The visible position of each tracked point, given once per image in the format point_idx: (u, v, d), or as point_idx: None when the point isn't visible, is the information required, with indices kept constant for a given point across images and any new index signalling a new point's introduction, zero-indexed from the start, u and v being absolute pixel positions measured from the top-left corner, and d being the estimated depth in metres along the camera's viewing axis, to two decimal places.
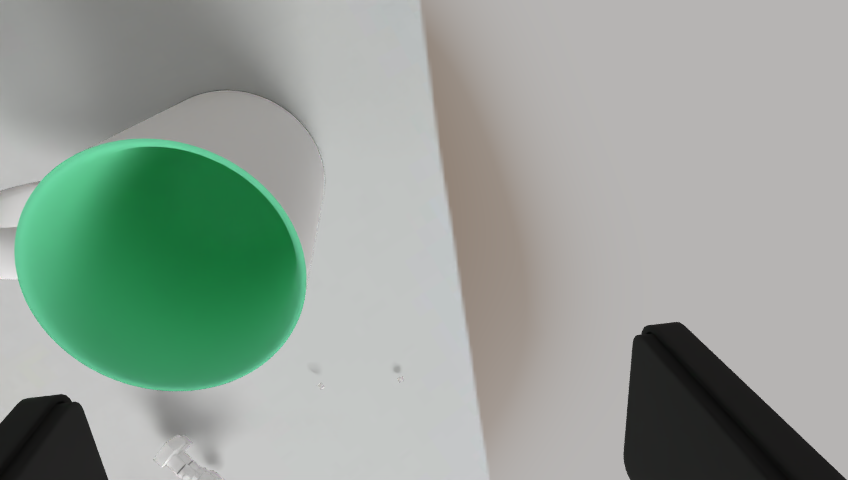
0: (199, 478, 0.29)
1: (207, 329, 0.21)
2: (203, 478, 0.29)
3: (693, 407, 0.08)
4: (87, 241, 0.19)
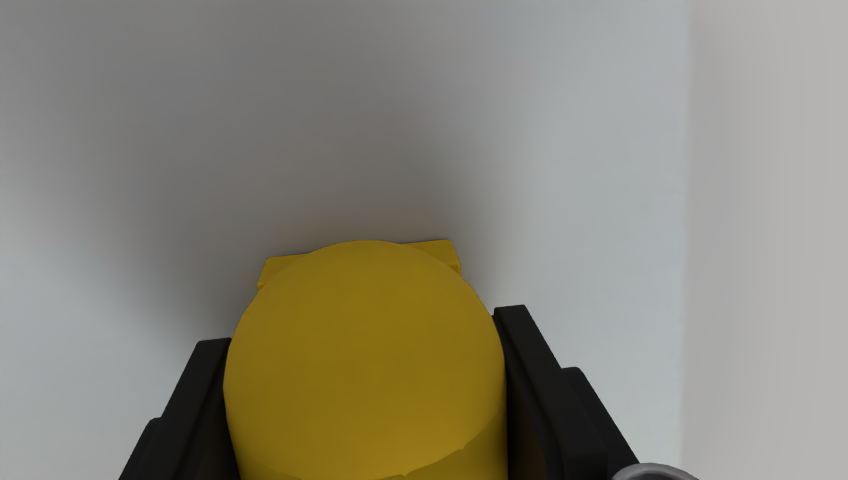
0: None
1: None
2: None
3: (509, 377, 0.09)
4: None
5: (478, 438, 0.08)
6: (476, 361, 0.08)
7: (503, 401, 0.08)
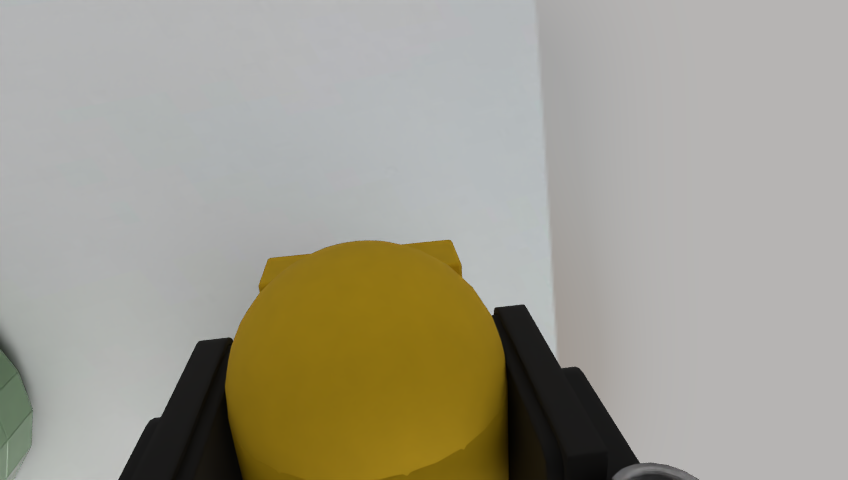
0: None
1: None
2: None
3: (509, 378, 0.09)
4: None
5: (479, 438, 0.08)
6: (477, 361, 0.08)
7: (504, 401, 0.08)
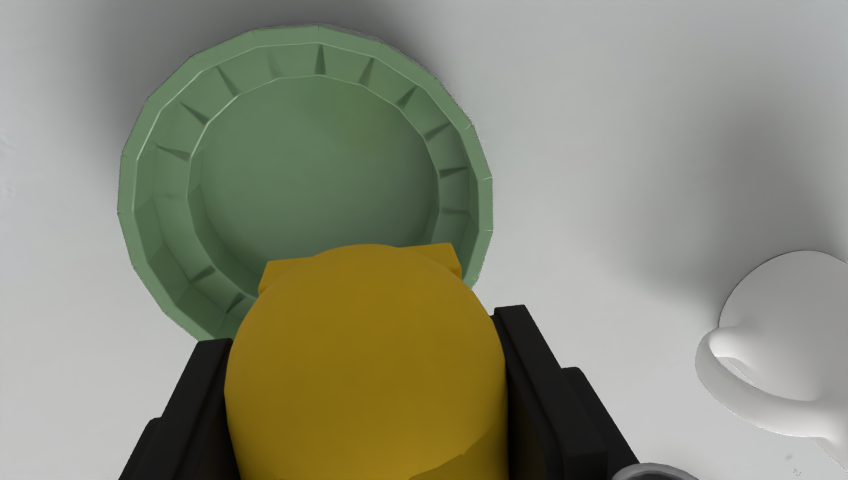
0: None
1: None
2: None
3: (509, 378, 0.09)
4: None
5: (479, 443, 0.08)
6: (477, 366, 0.08)
7: (504, 405, 0.08)
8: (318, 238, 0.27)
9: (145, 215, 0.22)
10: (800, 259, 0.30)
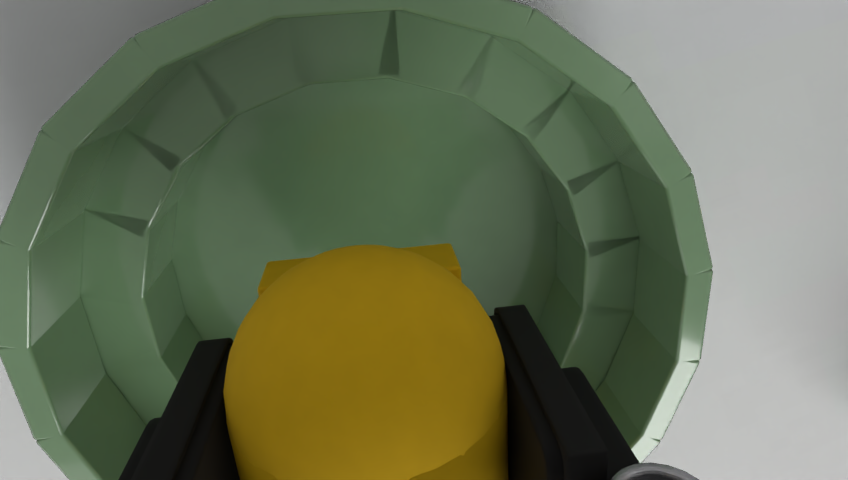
0: None
1: None
2: None
3: (509, 377, 0.09)
4: None
5: (479, 444, 0.08)
6: (477, 367, 0.08)
7: (504, 406, 0.08)
8: None
9: (61, 340, 0.12)
10: None
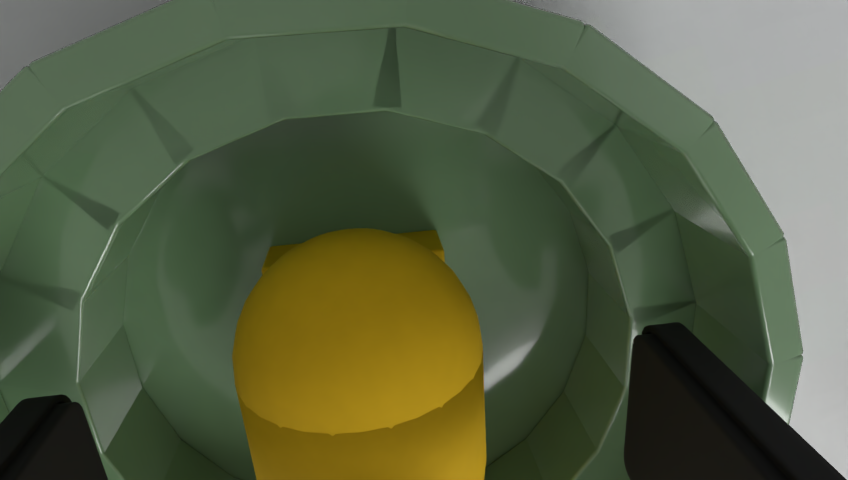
0: None
1: None
2: None
3: (693, 407, 0.08)
4: None
5: (456, 399, 0.09)
6: (454, 332, 0.09)
7: (479, 369, 0.10)
8: None
9: None
10: None
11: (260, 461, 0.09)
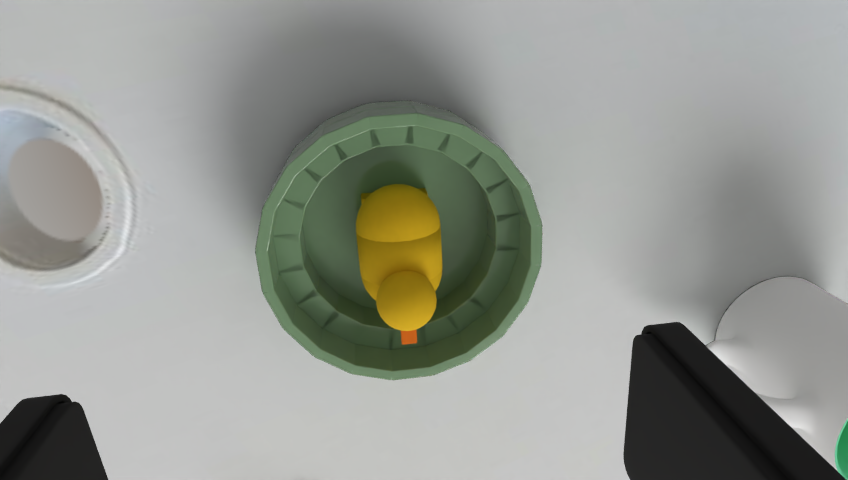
0: None
1: (843, 446, 0.33)
2: None
3: (693, 407, 0.08)
4: None
5: (430, 236, 0.28)
6: (429, 215, 0.28)
7: (438, 230, 0.29)
8: None
9: (271, 252, 0.28)
10: (782, 284, 0.37)
11: (366, 258, 0.29)
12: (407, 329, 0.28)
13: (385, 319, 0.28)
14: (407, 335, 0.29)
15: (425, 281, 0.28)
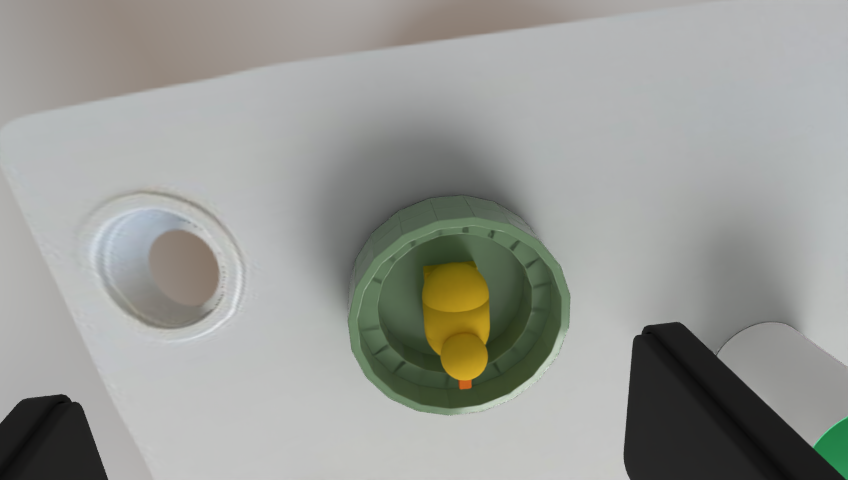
0: None
1: None
2: None
3: (693, 407, 0.08)
4: None
5: (482, 305, 0.36)
6: (482, 289, 0.36)
7: (488, 299, 0.37)
8: None
9: (358, 319, 0.36)
10: (766, 329, 0.44)
11: (432, 322, 0.36)
12: (466, 379, 0.35)
13: (448, 372, 0.35)
14: (464, 382, 0.37)
15: (479, 342, 0.36)
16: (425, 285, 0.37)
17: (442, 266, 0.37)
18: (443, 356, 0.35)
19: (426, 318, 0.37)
